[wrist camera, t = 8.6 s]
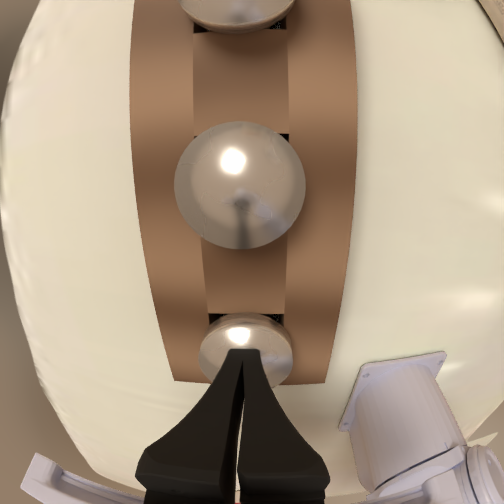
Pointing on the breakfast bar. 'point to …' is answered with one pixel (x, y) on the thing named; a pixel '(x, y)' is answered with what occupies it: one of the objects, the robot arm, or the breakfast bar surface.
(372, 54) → the breakfast bar surface
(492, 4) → the photo printer
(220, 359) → the knob
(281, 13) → the knob
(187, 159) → the knob middle
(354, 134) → the bar
